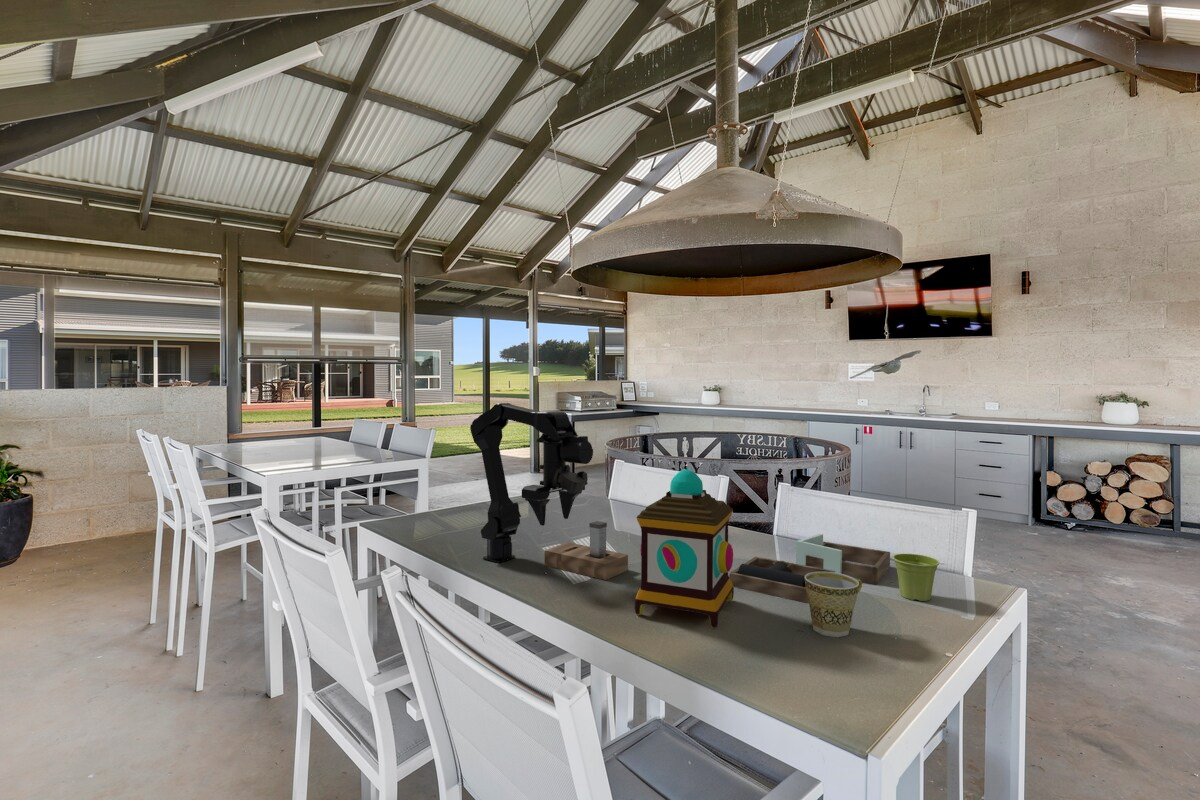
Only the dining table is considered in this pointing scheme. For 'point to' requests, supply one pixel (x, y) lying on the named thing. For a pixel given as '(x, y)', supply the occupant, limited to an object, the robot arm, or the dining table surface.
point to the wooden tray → (773, 586)
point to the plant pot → (915, 575)
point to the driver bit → (598, 539)
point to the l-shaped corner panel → (818, 553)
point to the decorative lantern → (686, 550)
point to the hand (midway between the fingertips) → (554, 521)
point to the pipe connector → (774, 573)
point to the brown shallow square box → (860, 556)
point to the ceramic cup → (831, 601)
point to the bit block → (586, 561)
